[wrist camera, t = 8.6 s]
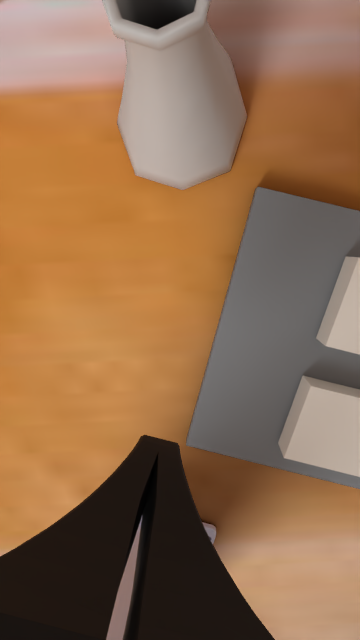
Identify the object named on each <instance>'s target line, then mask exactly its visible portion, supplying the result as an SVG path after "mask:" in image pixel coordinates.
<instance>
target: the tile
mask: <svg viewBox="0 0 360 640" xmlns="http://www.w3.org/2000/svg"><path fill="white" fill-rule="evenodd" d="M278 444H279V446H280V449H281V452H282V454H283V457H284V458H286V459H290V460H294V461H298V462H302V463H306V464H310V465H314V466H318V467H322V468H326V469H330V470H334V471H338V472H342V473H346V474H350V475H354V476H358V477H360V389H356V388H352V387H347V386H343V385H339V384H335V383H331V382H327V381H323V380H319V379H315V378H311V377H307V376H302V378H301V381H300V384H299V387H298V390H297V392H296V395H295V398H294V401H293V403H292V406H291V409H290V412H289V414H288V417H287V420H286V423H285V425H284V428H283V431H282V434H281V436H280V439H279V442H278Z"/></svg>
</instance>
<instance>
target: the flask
mask: <svg viewBox="0 0 360 640" xmlns="http://www.w3.org/2000/svg"><path fill="white" fill-rule="evenodd" d="M102 2H103V5H104V8H105V10H106V13H107V16H108V19H109V22H110V25H111V28H112V31H113V33H114V35H115V36H116V37H117V38H119V39H123V40H125V48H126V56H127V65H126V73H125V80H124V88H123V95H122V100H121V105H120V110H119V115H118V121H117V125H118V128H119V131H120V133H121V136H122V139H123V142H124V144H125V147H126V150H127V153H128V155H129V158H130V161H131V164H132V166H133V169H134V172H135V174H136V176H139V177H143V178H146V179H149V180H152V181H155V182H158V183H162V184H165V185H168V186H171V187H174V188H178V189H181V190H184V189H187V188H189V187H192V186H194V185H197V184H199V183H202V182H204V181H207V180H209V179H212V178H214V177H217V176H219V175H222V174H224V173H227V172H229V171H230V170H231V167H232V163H233V160H234V157H235V154H236V151H237V148H238V144H239V141H240V138H241V135H242V132H243V129H244V125H245V122H246V119H247V113H246V110H245V106H244V103H243V99H242V96H241V92H240V89H239V85H238V82H237V78H236V75H235V71H234V67H233V64H232V60H231V58H230V56H229V55H228V53H227V52H226V51H225V49H224V48H223V46H222V45H221V44H220V42H219V41H218V40H217V38H216V36H215V34H214V33H213V31H212V29H211V27H210V26H209V24H208V22H207V13H208V9H209V6H210V2H211V0H102Z"/></svg>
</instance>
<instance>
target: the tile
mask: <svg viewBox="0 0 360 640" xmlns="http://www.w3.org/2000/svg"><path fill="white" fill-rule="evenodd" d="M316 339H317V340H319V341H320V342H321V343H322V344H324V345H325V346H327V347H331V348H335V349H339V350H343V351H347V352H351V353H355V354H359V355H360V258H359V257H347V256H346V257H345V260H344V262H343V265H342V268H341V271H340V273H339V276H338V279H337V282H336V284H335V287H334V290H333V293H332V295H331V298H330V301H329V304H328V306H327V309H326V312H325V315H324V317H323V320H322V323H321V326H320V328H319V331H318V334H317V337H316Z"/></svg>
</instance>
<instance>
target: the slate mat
mask: <svg viewBox="0 0 360 640" xmlns="http://www.w3.org/2000/svg"><path fill="white" fill-rule="evenodd" d="M346 256H347V257H359V258H360V211H358V210H353V209H349V208H345V207H341V206H337V205H333V204H328V203H324V202H320V201H316V200H312V199H307V198H303V197H299V196H295V195H291V194H287V193H282V192H278V191H274V190H270V189H266V188H262V187H257V188H256V189H255V192H254V196H253V200H252V203H251V207H250V210H249V214H248V218H247V221H246V225H245V229H244V232H243V236H242V239H241V243H240V247H239V250H238V254H237V258H236V261H235V265H234V268H233V272H232V276H231V279H230V283H229V287H228V290H227V294H226V297H225V301H224V305H223V308H222V312H221V316H220V319H219V323H218V326H217V330H216V334H215V337H214V341H213V345H212V348H211V352H210V355H209V359H208V363H207V366H206V370H205V374H204V377H203V381H202V384H201V388H200V392H199V395H198V399H197V403H196V406H195V410H194V413H193V417H192V421H191V424H190V428H189V432H188V435H187V440H186V446H190V447H194V448H198V449H202V450H206V451H210V452H214V453H218V454H222V455H226V456H230V457H234V458H238V459H242V460H246V461H250V462H254V463H258V464H262V465H266V466H270V467H274V468H278V469H282V470H286V471H290V472H294V473H298V474H302V475H306V476H310V477H314V478H318V479H322V480H326V481H330V482H334V483H338V484H342V485H346V486H350V487H354V488H358V489H360V477H358V476H354V475H350V474H346V473H342V472H338V471H334V470H330V469H326V468H322V467H318V466H314V465H310V464H306V463H302V462H298V461H294V460H290V459H286V458H284V457H283V454H282V452H281V449H280V446H279V444H278V442H279V439H280V436H281V434H282V431H283V428H284V425H285V423H286V420H287V417H288V414H289V412H290V409H291V406H292V403H293V401H294V398H295V395H296V392H297V390H298V387H299V384H300V381H301V378H302V376H307V377H311V378H315V379H319V380H323V381H327V382H331V383H335V384H339V385H343V386H347V387H352V388H356V389H360V355H359V354H355V353H351V352H347V351H343V350H339V349H335V348H331V347H327V346H325V345H324V344H322V343H321V342H320V341H319V340H317V339H316V337H317V334H318V331H319V328H320V326H321V323H322V320H323V317H324V315H325V312H326V309H327V306H328V304H329V301H330V298H331V295H332V293H333V290H334V287H335V284H336V282H337V279H338V276H339V273H340V271H341V268H342V265H343V262H344V260H345V257H346Z"/></svg>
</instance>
